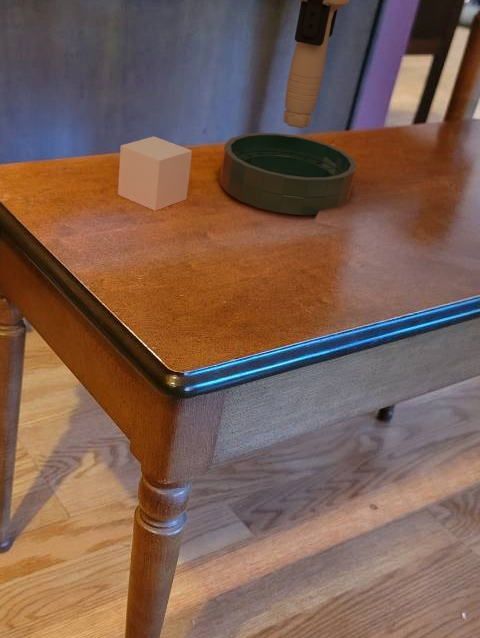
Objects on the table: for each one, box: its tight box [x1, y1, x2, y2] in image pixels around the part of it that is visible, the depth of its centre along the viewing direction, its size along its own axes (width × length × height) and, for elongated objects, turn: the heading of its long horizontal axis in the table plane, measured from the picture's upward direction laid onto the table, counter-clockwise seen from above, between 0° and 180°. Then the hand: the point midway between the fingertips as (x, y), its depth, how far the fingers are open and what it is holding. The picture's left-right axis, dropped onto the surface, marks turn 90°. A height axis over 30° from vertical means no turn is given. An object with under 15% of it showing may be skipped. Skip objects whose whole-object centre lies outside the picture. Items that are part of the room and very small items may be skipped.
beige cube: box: [117, 136, 193, 212], centre depth 89 cm, size 6×6×6 cm
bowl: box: [219, 132, 358, 216], centre depth 95 cm, size 17×17×5 cm
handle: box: [283, 0, 350, 129], centre depth 86 cm, size 5×6×15 cm
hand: (313, 37), depth 85 cm, fingers closed on handle, 5 cm apart
